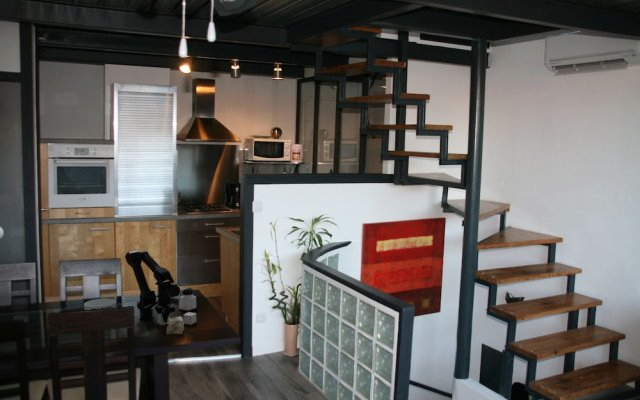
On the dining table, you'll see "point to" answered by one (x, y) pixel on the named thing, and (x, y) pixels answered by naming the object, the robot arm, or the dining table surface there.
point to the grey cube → (189, 318)
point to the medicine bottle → (187, 299)
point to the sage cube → (161, 319)
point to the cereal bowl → (99, 304)
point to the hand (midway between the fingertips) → (163, 321)
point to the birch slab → (175, 322)
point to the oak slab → (175, 330)
